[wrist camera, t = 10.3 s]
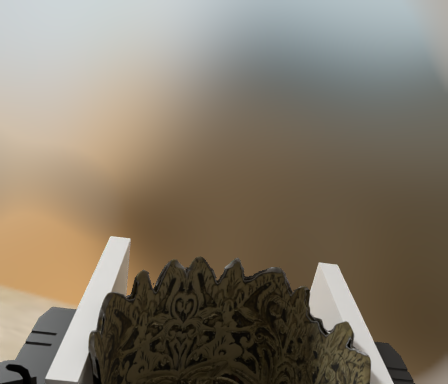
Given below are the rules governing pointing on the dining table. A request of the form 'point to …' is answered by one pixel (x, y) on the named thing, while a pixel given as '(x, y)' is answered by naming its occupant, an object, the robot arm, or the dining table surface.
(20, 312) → the dining table surface
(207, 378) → the cup
